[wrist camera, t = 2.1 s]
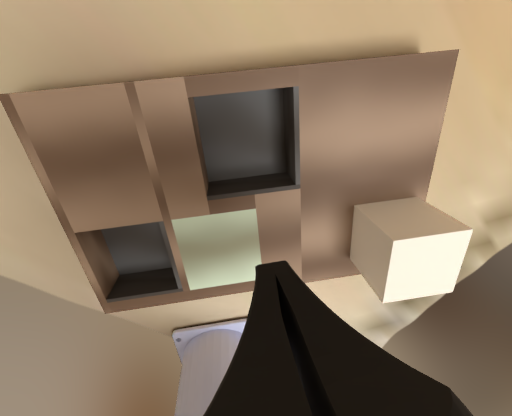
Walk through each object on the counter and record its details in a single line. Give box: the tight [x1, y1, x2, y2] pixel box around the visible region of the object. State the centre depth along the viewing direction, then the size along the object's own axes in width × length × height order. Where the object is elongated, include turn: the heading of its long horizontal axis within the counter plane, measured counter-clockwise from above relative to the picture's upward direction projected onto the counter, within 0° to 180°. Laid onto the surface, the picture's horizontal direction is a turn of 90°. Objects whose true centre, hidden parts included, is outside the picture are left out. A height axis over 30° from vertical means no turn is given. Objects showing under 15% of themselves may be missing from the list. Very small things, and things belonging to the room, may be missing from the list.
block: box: [350, 197, 473, 303], centre depth 17 cm, size 4×4×4 cm
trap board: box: [0, 49, 459, 314], centre depth 18 cm, size 15×24×3 cm, turn 95°
